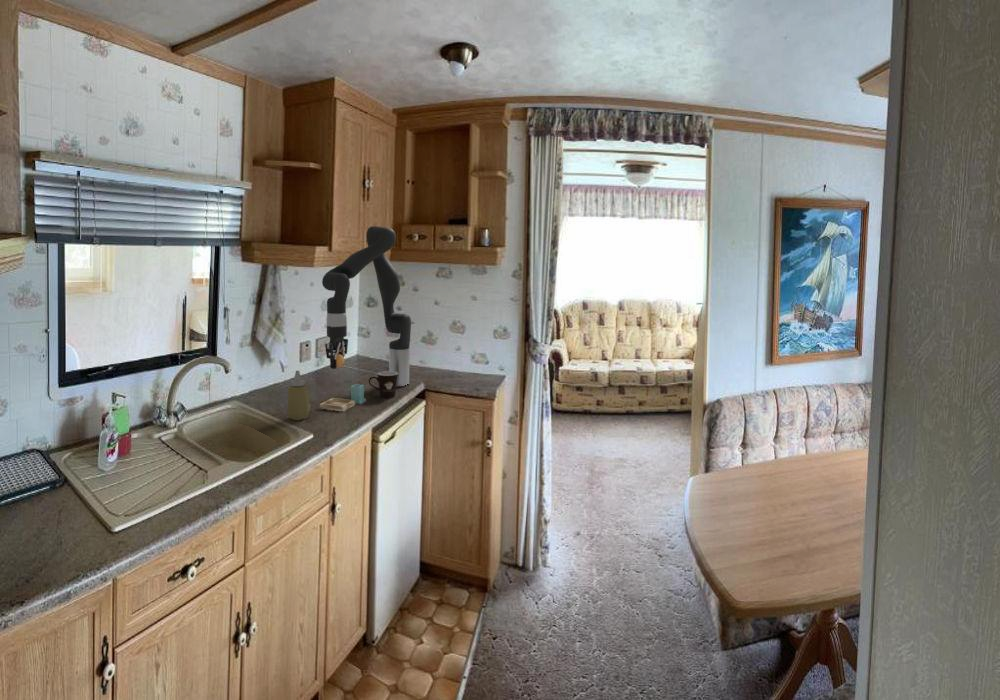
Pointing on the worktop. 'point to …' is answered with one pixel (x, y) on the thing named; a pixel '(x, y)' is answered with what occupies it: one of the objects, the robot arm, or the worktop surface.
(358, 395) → the teal box
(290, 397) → the squeeze bottle
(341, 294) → the robot arm
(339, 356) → the ball
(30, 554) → the worktop surface
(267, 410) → the worktop surface
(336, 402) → the tray
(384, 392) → the coffee mug
